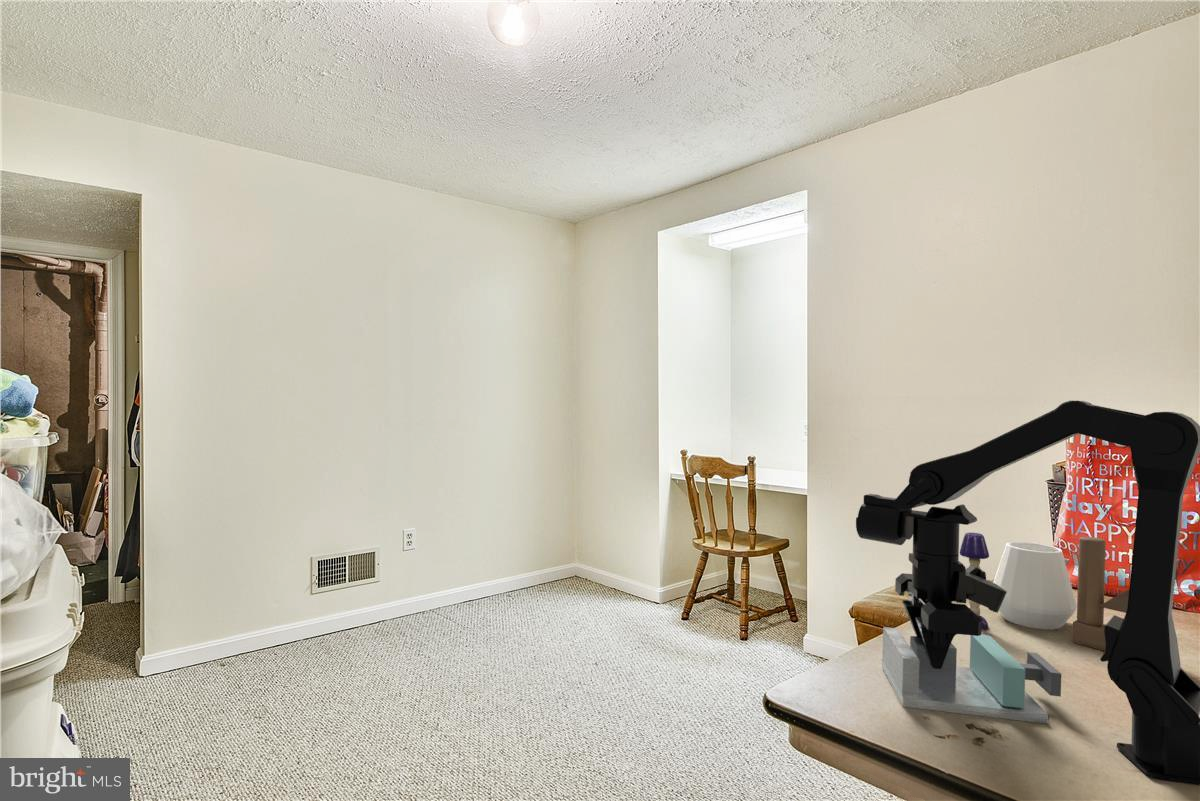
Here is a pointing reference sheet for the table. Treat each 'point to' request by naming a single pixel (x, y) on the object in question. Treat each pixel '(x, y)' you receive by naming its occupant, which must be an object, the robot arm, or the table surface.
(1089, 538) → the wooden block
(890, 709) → the table surface
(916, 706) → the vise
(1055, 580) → the white faceted vase
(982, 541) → the toy lamp
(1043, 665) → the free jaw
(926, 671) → the steel block
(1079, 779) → the table surface
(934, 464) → the robot arm
